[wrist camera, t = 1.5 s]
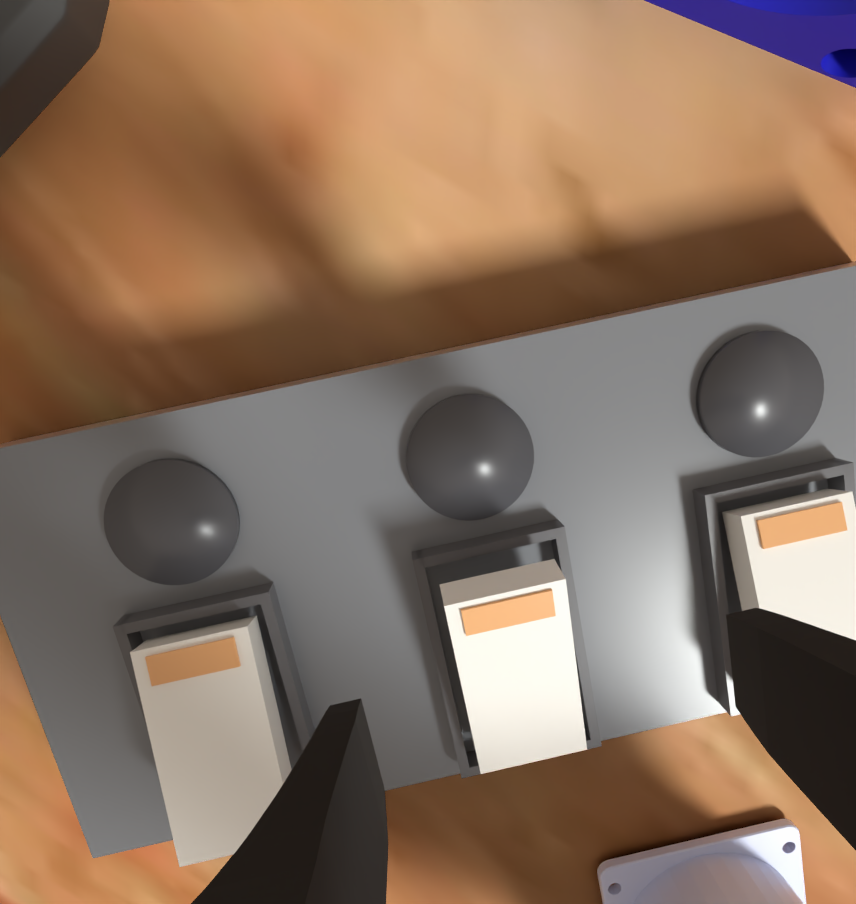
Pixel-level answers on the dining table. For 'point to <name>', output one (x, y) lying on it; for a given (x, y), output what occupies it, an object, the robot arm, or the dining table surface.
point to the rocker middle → (516, 664)
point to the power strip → (424, 527)
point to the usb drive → (42, 55)
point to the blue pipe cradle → (785, 29)
